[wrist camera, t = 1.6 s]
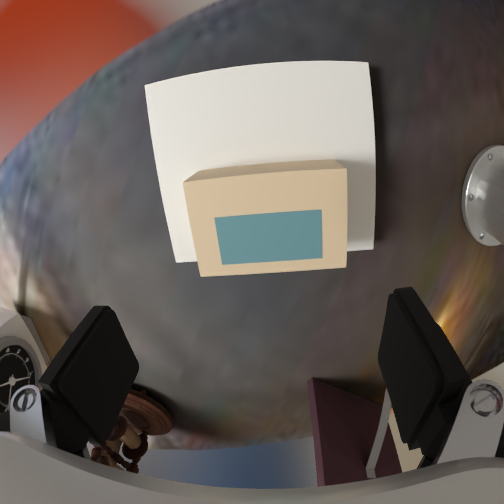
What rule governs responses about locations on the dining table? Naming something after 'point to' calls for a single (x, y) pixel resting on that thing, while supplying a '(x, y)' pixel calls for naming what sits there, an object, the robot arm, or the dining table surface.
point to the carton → (269, 217)
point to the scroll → (133, 431)
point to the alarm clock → (19, 355)
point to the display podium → (265, 132)
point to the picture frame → (350, 436)
